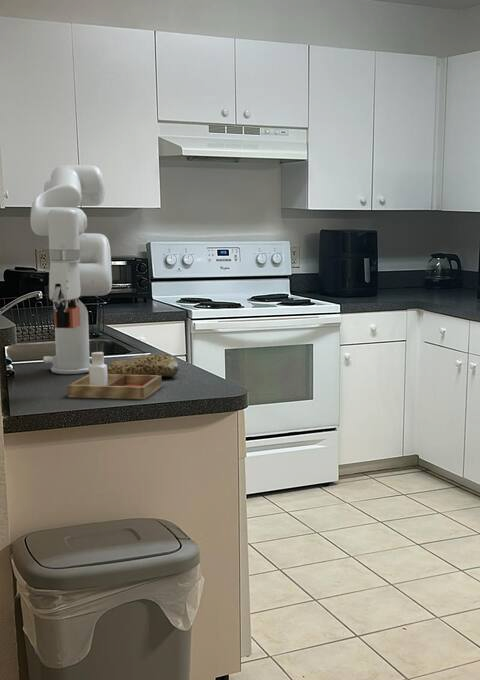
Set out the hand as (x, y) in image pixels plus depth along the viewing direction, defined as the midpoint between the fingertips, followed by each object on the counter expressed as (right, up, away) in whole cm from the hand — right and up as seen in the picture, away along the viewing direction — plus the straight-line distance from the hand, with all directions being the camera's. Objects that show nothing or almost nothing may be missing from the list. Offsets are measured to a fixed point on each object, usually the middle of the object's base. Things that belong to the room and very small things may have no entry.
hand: (67, 325), depth 236 cm
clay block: (0, 0, 0) cm, 0 cm away
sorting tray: (+12, -18, +1) cm, 22 cm away
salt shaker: (+8, -17, +1) cm, 19 cm away
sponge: (+16, -15, +18) cm, 28 cm away
